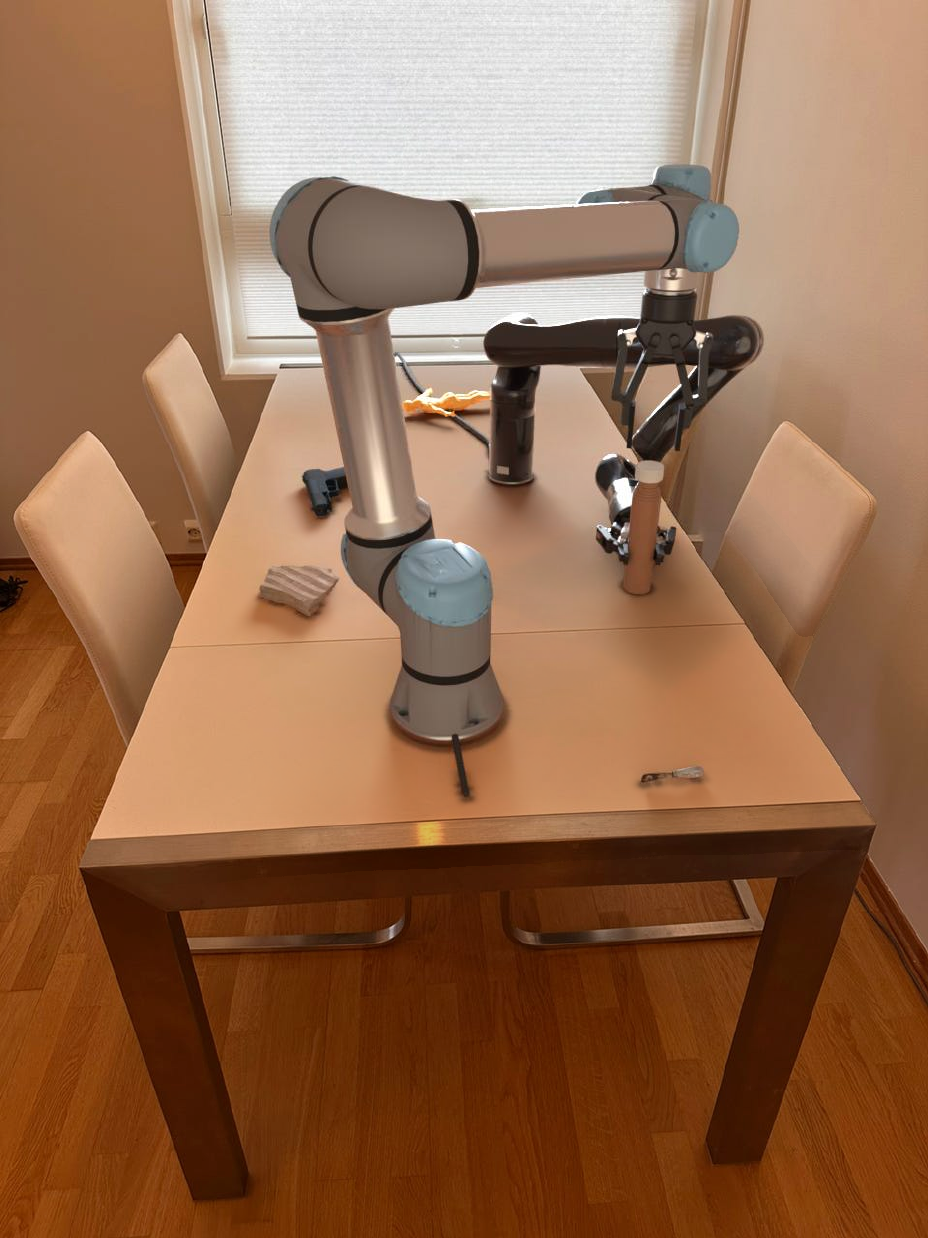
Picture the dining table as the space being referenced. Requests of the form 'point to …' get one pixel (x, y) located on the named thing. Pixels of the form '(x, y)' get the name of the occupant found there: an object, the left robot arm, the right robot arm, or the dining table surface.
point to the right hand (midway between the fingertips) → (642, 560)
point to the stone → (298, 586)
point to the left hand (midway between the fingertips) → (652, 446)
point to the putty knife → (674, 774)
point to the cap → (649, 471)
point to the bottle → (642, 537)
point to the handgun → (324, 488)
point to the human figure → (444, 402)
